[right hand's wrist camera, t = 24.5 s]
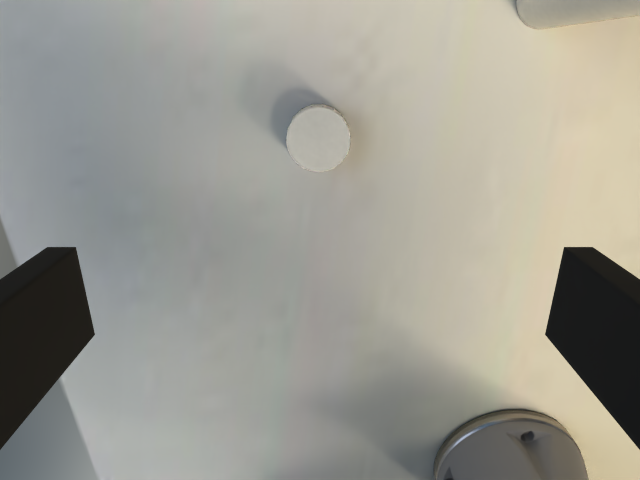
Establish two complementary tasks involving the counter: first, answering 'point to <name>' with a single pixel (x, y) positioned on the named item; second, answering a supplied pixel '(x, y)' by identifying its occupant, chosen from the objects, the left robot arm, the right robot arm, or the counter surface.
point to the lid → (318, 138)
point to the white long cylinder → (573, 11)
